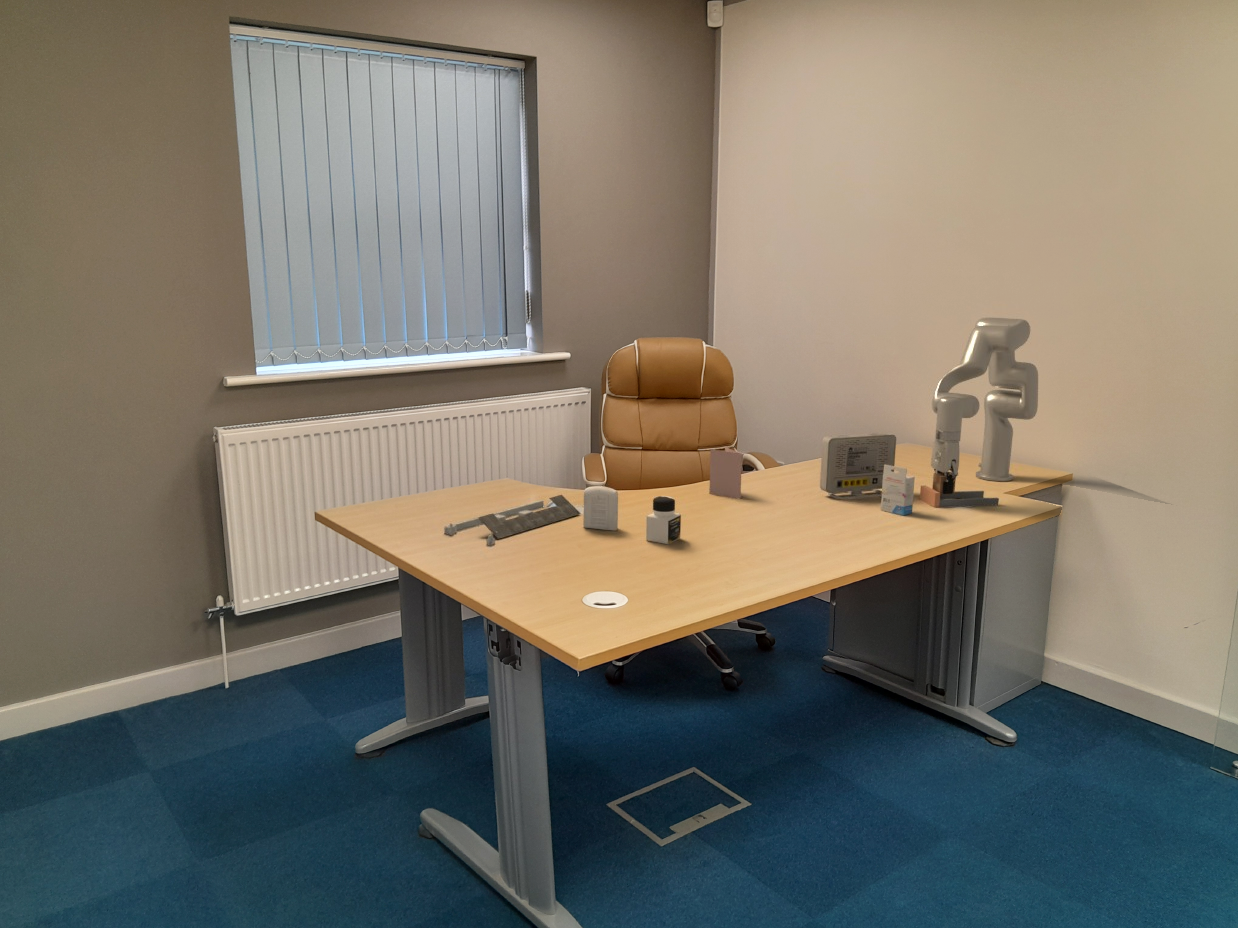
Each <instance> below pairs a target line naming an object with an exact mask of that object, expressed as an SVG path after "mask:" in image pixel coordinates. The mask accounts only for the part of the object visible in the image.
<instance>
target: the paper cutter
mask: <svg viewBox="0 0 1238 928" xmlns="http://www.w3.org/2000/svg"><path fill="white" fill-rule="evenodd" d="M548 499H549V500H550V501H548V502H547V503H546V504H544V500H542V499H541V500H536V501H534V502H533V501H532V502H529V503H525V504H523V505H518V506H515V507H512V508H508V509H505V510H501V511H498V512H497V511H496V512H492V513H488V514H485V515H482V516H479V517H474V518H471V519H468V520H464V521H460V522H457V523H449V525H446V526H444V527H443V531H444V534H446V535H448V536H449V535H450V536H454V535H455V534H456V533H458V532H463V531H467V530H469V529H474V528H477V527H482V526H485V527H486V528H487V529H488V530H489V531H490V532H491V533H490V535H487V539H485V540H486V545H487V546H493V545H495V544H496V539H498V540H499V539H502V538H506V537H509V536H512V535H515V534H518V533H522V532H525V531H529V530H532V529H535V528H538V527H542V526H545V525H549V524H552V523H555V522H559V521H561V520H565V519H569V518H571V517H574V516H578V515H583V516H584V505H577V504H572V503H571V501H569V500H568V499H566V497H565V496H564V495H563V494H559V495H556V496H552V497H549V498H548ZM543 506H544V507H543ZM516 516H517V517H516ZM512 517H513V518H512ZM494 536H495V537H494Z"/></svg>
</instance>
